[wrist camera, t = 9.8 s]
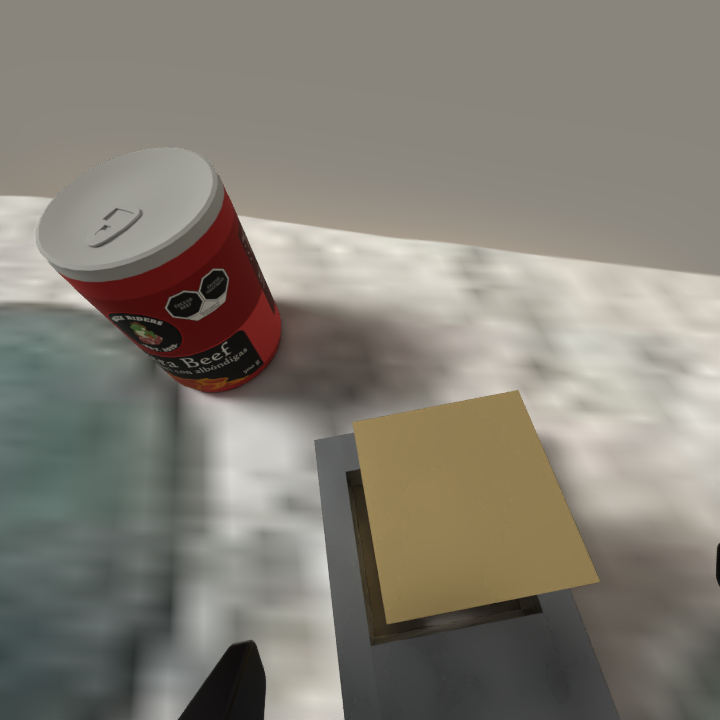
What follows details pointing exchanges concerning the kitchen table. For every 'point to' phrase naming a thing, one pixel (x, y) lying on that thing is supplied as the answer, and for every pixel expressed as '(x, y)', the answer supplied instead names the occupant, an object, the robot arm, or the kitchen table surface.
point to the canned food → (166, 265)
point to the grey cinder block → (450, 639)
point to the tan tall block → (465, 508)
